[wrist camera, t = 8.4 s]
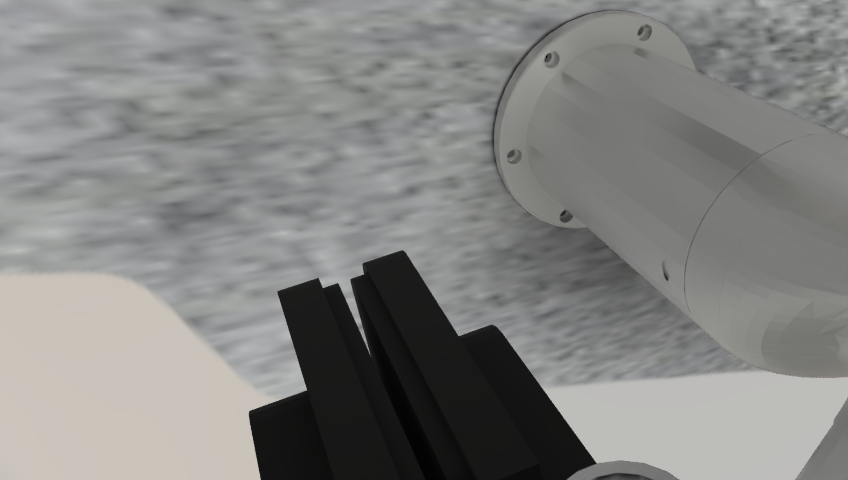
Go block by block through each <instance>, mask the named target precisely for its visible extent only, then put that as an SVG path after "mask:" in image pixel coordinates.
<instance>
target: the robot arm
mask: <svg viewBox="0 0 848 480" xmlns="http://www.w3.org/2000/svg"><path fill="white" fill-rule="evenodd" d="M547 54H548V57H547V58H546V59H545V57H546V55H547ZM510 151H511V152H510ZM494 152H495V158H496V163H497V168H498V171H499V173H500V176H501V178H502V180H503V183H504V185H505V187H506V188H507V189H508V191H509V192H510V194H511V195H512V196H513V198H514V199H515V200H516V201H517V202H518V203H519V204H520V205H521V206H522V207H523V208H524V209H525V210H526V211H527V212H529V213H530V214H532V215H533V216H535V217H536V218H538V219H539V220H541V221H543V222H546V223H549V224H551V225H554V226H557V227H564V228H571V229H579V228H588V229H589V230H590V231H592V232H593V233H594V234H595V235H596V236H597V237H598V238H600V239H601V240H602V241H603V242H604V243H605V244H606V245H607V246H609V247H610V248H611V249H612V250H613V251H614V252H615V253H616V254H618V255H619V256H620V257H621V258H622V259H623V260H624V261H626V262H627V263H628V264H629V265H630V266H631V267H632V268H633V269H635V270H636V271H637V272H638V273H639V274H640V275H641V276H642V277H644V278H645V279H646V280H647V281H648V282H649V283H650V284H652V285H653V286H654V287H655V288H656V289H657V290H658V291H659V292H661V293H662V294H663V295H664V296H665V297H666V298H667V299H668V300H670V301H671V302H672V303H673V304H674V305H675V306H676V307H678V308H679V309H680V310H681V311H682V312H683V313H684V314H685V315H687V316H688V317H689V318H690V319H691V320H692V321H693V322H694V323H696V324H697V325H698V326H699V327H700V328H701V329H702V330H703V331H704V332H706V333H707V334H708V335H709V336H710V337H711V338H712V339H714V340H715V341H716V342H717V343H718V344H719V345H720V346H722V347H723V348H724V349H725V350H727V351H728V352H730V353H731V354H732V355H734V356H735V357H737V358H739V359H741V360H743V361H744V362H746V363H748V364H750V365H753V366H755V367H758V368H761V369H764V370H767V371H770V372H773V373H777V374H784V375H790V376H798V377H816V378H817V377H819V378H821V377H822V378H835V377H848V136H845V135H843V134H841V133H838V132H836V131H834V130H831V129H829V128H827V127H824V126H822V125H820V124H818V123H815V122H813V121H811V120H808V119H806V118H804V117H801V116H799V115H797V114H795V113H792V112H790V111H788V110H785V109H783V108H781V107H778V106H776V105H774V104H771V103H769V102H767V101H765V100H762V99H760V98H758V97H755V96H753V95H751V94H748V93H746V92H744V91H741V90H739V89H737V88H735V87H732V86H730V85H728V84H725V83H723V82H721V81H718V80H716V79H714V78H711V77H709V76H707V75H704V74H702V73H700V72H698V71H697V70H696V66H695V63H694V61H693V59H692V57H691V55H690V52H689V50H688V48H687V47H686V46H685V44H684V43H683V42H682V41H681V39H680V38H679V37H678V36H677V34H675V33H674V32H673V31H672V30H670V29H669V28H668V27H666V26H665V25H664V24H662V23H660V22H658V21H656V20H653V19H651V18H649V17H646V16H643V15H640V14H636V13H633V12H629V11H611V10H608V11H603V12H597V13H591V14H587V15H585V16H582V17H580V18H577V19H574V20H572V21H569V22H567V23H566V24H564V25H563V26H561V27H559V28H558V29H556V30H555V31H553V32H551V33H550V34H549V35H547V36H546V37H545V38H544V39H543V40H542V41H541V42H540V43H538V44H537V45H536V46H535V47H534V48H533V49H532V50H531V51H530V52H529V54H528V55H527V56H526V57H525V58H524V60H523V61H522V62H521V63H520V65H519V66H518V67H517V69H516V71H515V72H514V74H513V76H512V78H511V79H510V81H509V83H508V85H507V86H506V89H505V91H504V94H503V97H502V99H501V102H500V105H499V107H498V112H497V117H496V122H495V128H494ZM509 152H510V154H508V153H509ZM363 271H364V275H361V276H358V277H355V278H352V279H351V285H352V289H353V293H354V296H355V300H356V304H357V307H358V311H359V315H360V318H361V322H362V325H363V329H364V333H365V336H366V340H367V344H368V347H369V351H370V354H371V356H370V354H369V351H368V349H367V347H366V345H365V342H364V340H363V338H362V336H361V333H360V331H359V329H358V327H357V324H356V322H355V320H354V318H353V315H352V313H351V311H350V309H349V306H348V304H347V302H346V300H345V297H344V295H343V293H342V291H341V288H340V286H339V284H338V283H337V284H334V285H331V286H328V287H325V288H322V285H321V283H320V280H319V278H317V279H313V280H310V281H307V282H304V283H301V284H298V285H295V286H292V287H289V288H286V289H283V290H280V291H277V292H278V296H279V299H280V302H281V306H282V309H283V312H284V315H285V319H286V322H287V325H288V329H289V332H290V335H291V338H292V342H293V345H294V348H295V352H296V355H297V358H298V361H299V365H300V368H301V371H302V375H303V378H304V381H305V384H306V388H307V391H304V392H301V393H299V394H296V395H293V396H290V397H287V398H285V399H282V400H279V401H276V402H273V403H271V404H268V405H265V406H262V407H259V408H257V409H254V410H251V411H249V419H250V425H251V431H252V436H253V441H254V446H255V452H256V457H257V462H258V467H259V472H260V477H261V480H679V479H677V478H676V477H674V476H673V475H672V474H670V473H668V472H667V471H664V470H662V469H659V468H656V467H653V466H651V465H648V464H645V463H638V462H629V461H614V462H605V463H598V464H597V463H596V462H595V461H594V459H593V458H592V456H591V455H590V454H589V452H588V451H587V450H586V449H585V447H584V445H583V444H582V443H581V441H580V440H579V439H578V437H577V436H576V434H575V433H574V432H573V430H572V429H571V428H570V426H569V425H568V423H567V422H566V421H565V419H564V418H563V416H562V415H561V414H560V412H559V411H558V410H557V408H556V407H555V405H554V404H553V403H552V401H551V400H550V399H549V397H548V396H547V394H546V393H545V392H544V390H543V389H542V387H541V386H540V385H539V383H538V382H537V381H536V379H535V378H534V376H533V375H532V374H531V372H530V371H529V370H528V368H527V367H526V365H525V364H524V363H523V361H522V360H521V359H520V357H519V356H518V354H517V353H516V352H515V350H514V349H513V347H512V346H511V345H510V343H509V342H508V341H507V339H506V338H505V336H504V335H503V334H502V333H501V331H500V330H499V329H498V328H497V327H496V326H494V325H489V326H486V327H484V328H481V329H478V330H475V331H472V332H470V333H467V334H464V335H461V336H458V335H457V333H456V331H455V330H454V328H453V327H452V325H451V323H450V322H449V320H448V319H447V317H446V316H445V314H444V312H443V311H442V309H441V308H440V306H439V305H438V303H437V301H436V300H435V298H434V297H433V295H432V294H431V292H430V290H429V289H428V287H427V286H426V284H425V283H424V281H423V279H422V278H421V276H420V275H419V273H418V272H417V270H416V268H415V267H414V265H413V264H412V262H411V260H410V259H409V257H408V256H407V254H406V253H405V252H404V251H403V250H401V251H398V252H395V253H392V254H389V255H386V256H383V257H380V258H377V259H374V260H371V261H368V262H365V263H363ZM796 480H848V398H847V400H846V402H845V403H844V405H843V407H842V408H841V410H840V411H839V413H838V414H837V416H836V417H835V420H834V423H833V425H832V427H831V428H830V430H829V431H828V433H827V434H826V436H825V437H824V439H823V440H822V441H821V443H820V445H819V446H818V447H817V449H816V450H815V452H814V453H813V455H812V456H811V458H810V459H809V460H808V462H807V464H806V465H805V467H804V468H803V469H802V471H801V472H800V474H799V475H798V477H797V478H796Z"/></svg>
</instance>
